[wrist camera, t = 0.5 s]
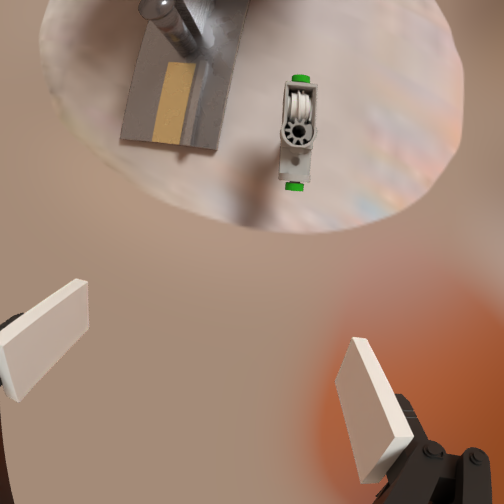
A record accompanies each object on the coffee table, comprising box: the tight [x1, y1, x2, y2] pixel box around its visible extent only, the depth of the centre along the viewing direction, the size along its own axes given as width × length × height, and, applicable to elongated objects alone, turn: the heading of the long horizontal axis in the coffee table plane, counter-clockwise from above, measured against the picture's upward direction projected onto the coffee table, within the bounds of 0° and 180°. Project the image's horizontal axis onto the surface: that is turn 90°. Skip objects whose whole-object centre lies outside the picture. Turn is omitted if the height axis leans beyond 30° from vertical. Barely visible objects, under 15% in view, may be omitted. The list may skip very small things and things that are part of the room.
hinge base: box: [120, 0, 250, 150], centre depth 26 cm, size 22×12×13 cm, turn 170°
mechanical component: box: [279, 75, 317, 191], centre depth 30 cm, size 3×10×10 cm, turn 177°
